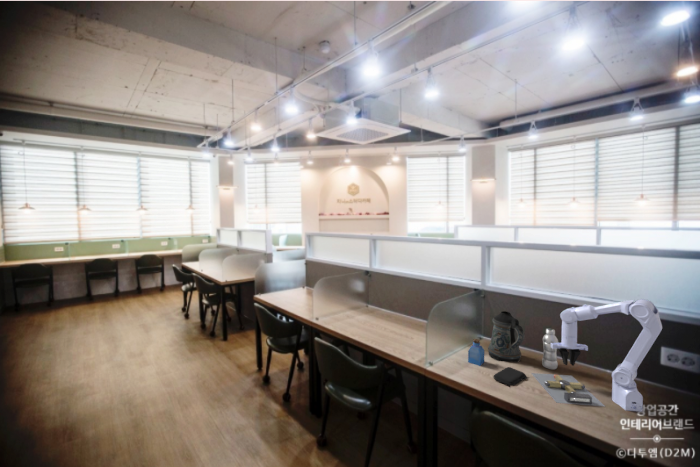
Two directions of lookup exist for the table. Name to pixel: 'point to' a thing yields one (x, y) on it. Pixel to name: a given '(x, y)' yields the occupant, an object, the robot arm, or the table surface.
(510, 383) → the carrying case or bag
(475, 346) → the perfume bottle
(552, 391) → the level board
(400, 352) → the table surface
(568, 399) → the level window
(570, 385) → the cam capstan
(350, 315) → the table surface
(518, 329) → the beer stein
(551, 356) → the plastic bottle
